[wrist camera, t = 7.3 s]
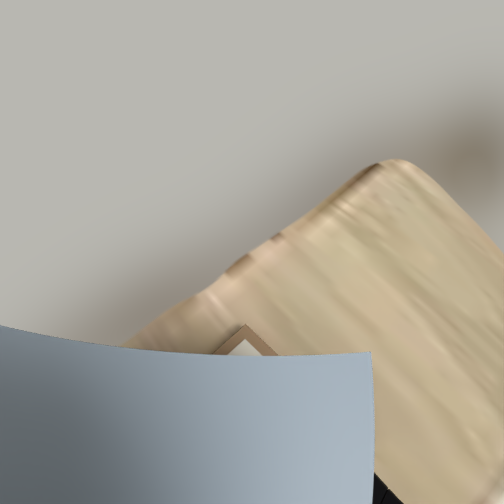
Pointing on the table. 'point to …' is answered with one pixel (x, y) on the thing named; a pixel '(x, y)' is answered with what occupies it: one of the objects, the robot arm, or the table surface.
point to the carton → (181, 426)
